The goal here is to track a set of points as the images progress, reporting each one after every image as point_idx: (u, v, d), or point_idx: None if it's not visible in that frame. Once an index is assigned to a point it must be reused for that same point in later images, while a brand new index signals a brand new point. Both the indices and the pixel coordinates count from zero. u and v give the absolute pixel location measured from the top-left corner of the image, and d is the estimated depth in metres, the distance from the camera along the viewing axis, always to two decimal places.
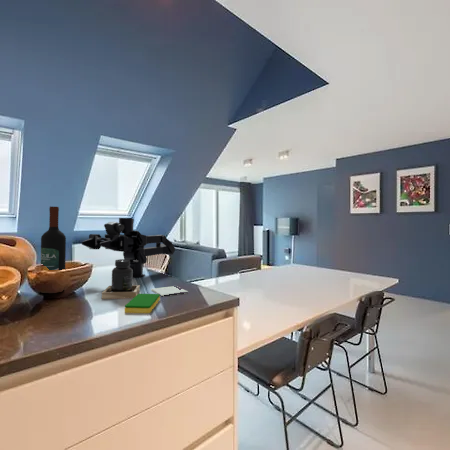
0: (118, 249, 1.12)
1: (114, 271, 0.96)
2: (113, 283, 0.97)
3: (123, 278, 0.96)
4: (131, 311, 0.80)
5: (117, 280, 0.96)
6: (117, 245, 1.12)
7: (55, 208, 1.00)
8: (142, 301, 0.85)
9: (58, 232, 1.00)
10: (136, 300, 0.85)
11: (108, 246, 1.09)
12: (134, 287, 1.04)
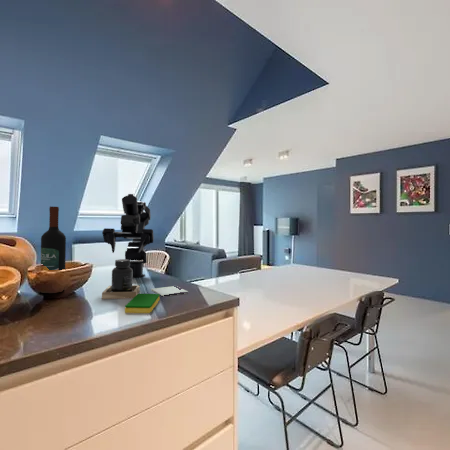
0: (148, 243, 1.14)
1: (114, 271, 0.96)
2: (113, 283, 0.97)
3: (123, 278, 0.96)
4: (131, 311, 0.80)
5: (117, 280, 0.96)
6: (146, 240, 1.13)
7: (55, 208, 1.00)
8: (142, 301, 0.85)
9: (58, 232, 1.00)
10: (136, 300, 0.85)
11: (142, 247, 1.11)
12: (134, 287, 1.04)
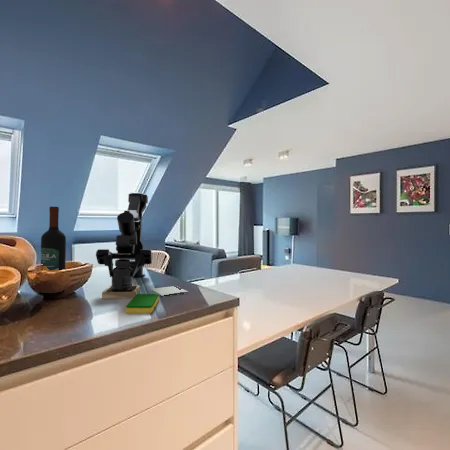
0: (143, 264, 1.05)
1: (114, 271, 0.96)
2: (113, 283, 0.97)
3: (123, 278, 0.96)
4: (132, 311, 0.80)
5: (117, 280, 0.96)
6: (141, 262, 1.04)
7: (55, 208, 1.00)
8: (143, 301, 0.85)
9: (58, 232, 1.00)
10: (136, 300, 0.85)
11: (136, 270, 1.02)
12: (134, 287, 1.04)
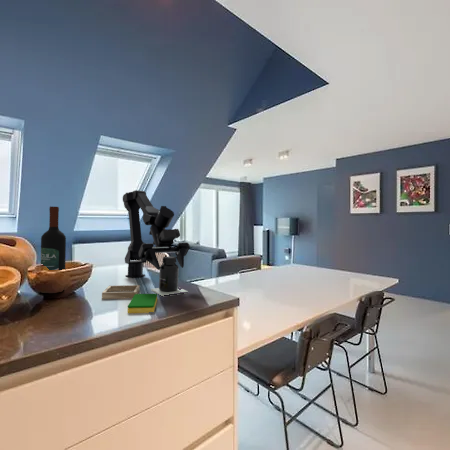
0: None
1: (166, 268, 1.02)
2: (165, 279, 1.01)
3: (175, 274, 1.03)
4: (134, 311, 0.80)
5: (170, 276, 1.02)
6: None
7: (55, 208, 1.00)
8: (143, 301, 0.85)
9: (58, 232, 1.00)
10: (137, 300, 0.85)
11: None
12: (134, 287, 1.04)
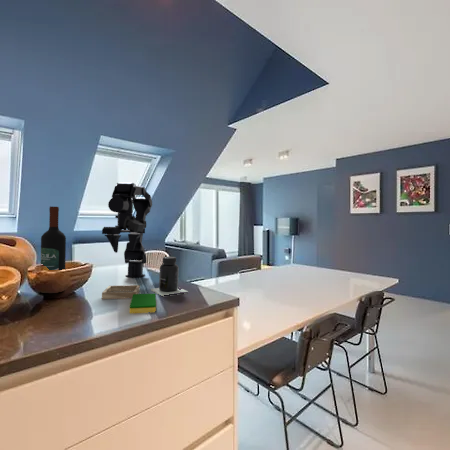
0: None
1: (166, 268, 1.01)
2: (165, 279, 1.01)
3: (175, 274, 1.03)
4: (136, 311, 0.80)
5: (170, 276, 1.02)
6: None
7: (55, 208, 1.00)
8: (144, 301, 0.85)
9: (58, 232, 1.00)
10: (137, 300, 0.85)
11: None
12: (134, 287, 1.04)
